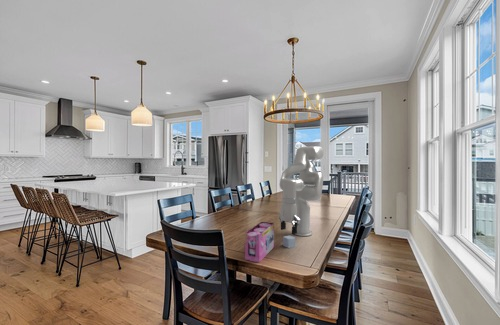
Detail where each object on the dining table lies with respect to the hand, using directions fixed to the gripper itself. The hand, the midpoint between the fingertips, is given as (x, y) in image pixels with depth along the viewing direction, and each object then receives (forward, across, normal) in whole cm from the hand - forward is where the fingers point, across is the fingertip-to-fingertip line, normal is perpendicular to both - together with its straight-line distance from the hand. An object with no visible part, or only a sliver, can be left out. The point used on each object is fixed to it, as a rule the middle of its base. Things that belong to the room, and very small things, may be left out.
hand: (288, 231), depth 135 cm
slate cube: (+8, -1, +1) cm, 9 cm away
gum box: (+9, 0, -18) cm, 21 cm away
